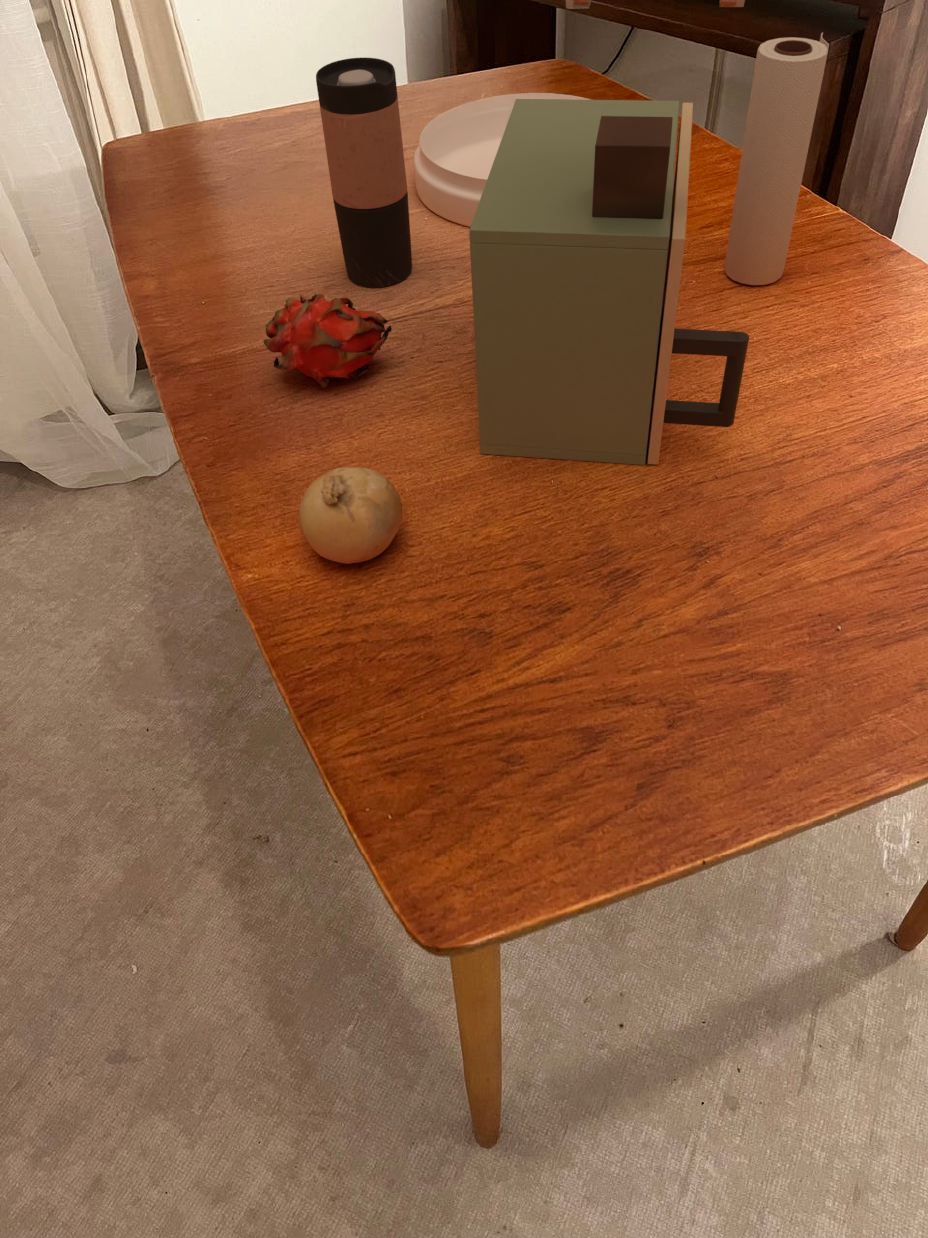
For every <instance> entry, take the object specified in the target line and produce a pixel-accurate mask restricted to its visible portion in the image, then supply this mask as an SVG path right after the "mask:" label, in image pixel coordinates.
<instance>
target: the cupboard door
mask: <svg viewBox="0 0 928 1238" xmlns="http://www.w3.org/2000/svg"><path fill="white" fill-rule="evenodd" d="M680 112H681V113H680V124H679V131H678V132H679V133H678V140H677V141H678V142H677V149H676V158H675V170H674V184H673V197H672V210H671V224H670V237H669V246H668V256H667V265H666V274H665V284H664V293H663V302H662V312H661V321H660V330H659V340H658V349H657V358H656V368H655V377H654V386H653V395H652V405H651V415H650V426H649V438H648V452H647V464H648V465H659V462H660V454H661V453H660V452H661V447H662V437H663V428H664V424H669V425H672V424H673V425H685V426H686V425H687V426H702V427H715V428H730V427H732V426H733V425H734V422H735V417H736V412H737V407H738V400H739V395H740V390H741V384H742V378H743V373H744V370H745V369H744V368H745V363H746V357H747V352H748V347H749V343H750V342H749V341H750V335H749V334H748V333H746V332H744V331H733V330H713V329H712V330H710V329H693V328H676V320H677V311H678V303H679V297H680V288H681V279H682V270H683V262H684V254H685V246H686V237H687V235H686V234H687V217H688V216H687V215H688V202H689V201H688V199H689V181H690V166H691V147H692V133H693V132H692V131H693V117H694V116H693V115H694V114H693V113H694V103H693V102H682V104H681V111H680ZM673 354H674V355H675V354H676V355H692V356H693V355H694V356H695V355H696V356H710V357H711V356H715V357H726V360H725V366H724V371H723V377H722V382H721V383H722V384H721V390H720V394H719V395H720V396H719V402H708V401H706V402H705V401H693V400H692V401H691V400H673V399H667V395H668V386H669V379H670V372H671V371H670V370H671V364H672V363H671V361H672V355H673Z"/></svg>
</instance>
